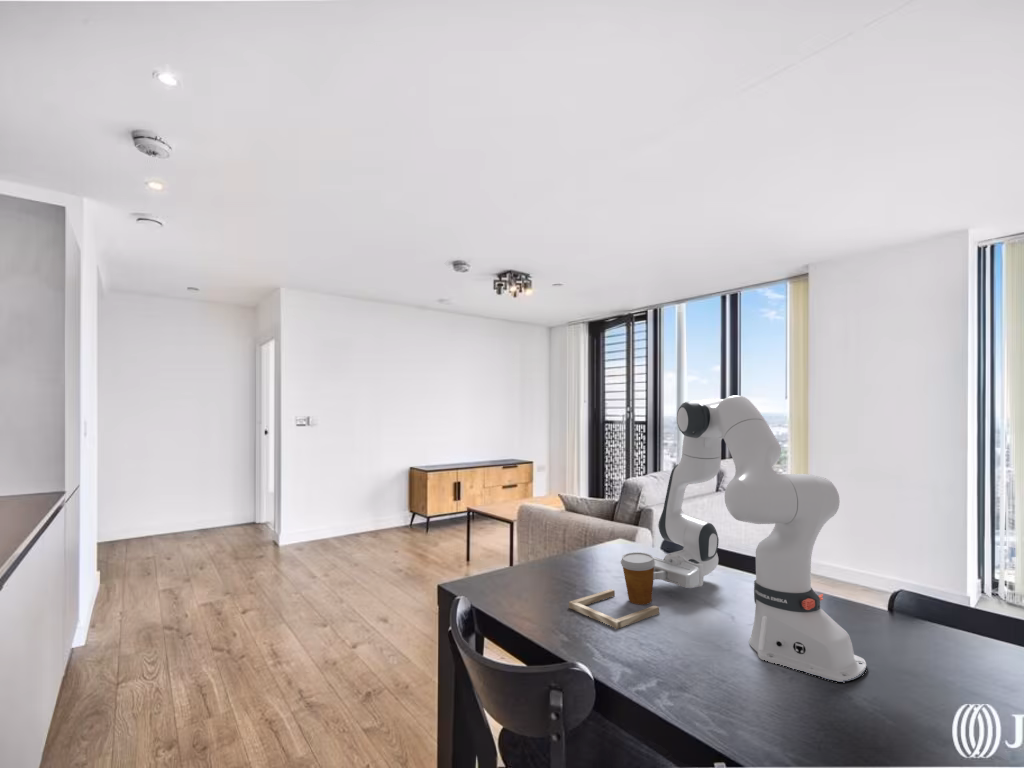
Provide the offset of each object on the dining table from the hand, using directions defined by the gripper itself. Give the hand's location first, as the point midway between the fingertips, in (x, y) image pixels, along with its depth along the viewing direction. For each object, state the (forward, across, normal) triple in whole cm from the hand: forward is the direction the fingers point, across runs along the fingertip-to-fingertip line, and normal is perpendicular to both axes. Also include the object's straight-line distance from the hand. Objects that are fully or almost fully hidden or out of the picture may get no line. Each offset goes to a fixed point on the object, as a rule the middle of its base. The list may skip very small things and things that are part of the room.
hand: (647, 575), depth 149 cm
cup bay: (+14, 0, +6) cm, 16 cm away
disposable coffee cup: (+3, 0, +6) cm, 7 cm away
